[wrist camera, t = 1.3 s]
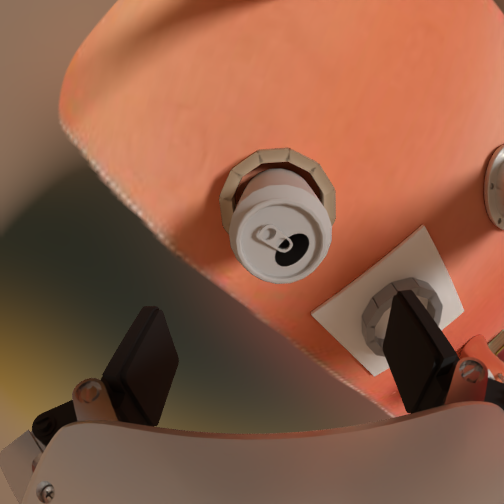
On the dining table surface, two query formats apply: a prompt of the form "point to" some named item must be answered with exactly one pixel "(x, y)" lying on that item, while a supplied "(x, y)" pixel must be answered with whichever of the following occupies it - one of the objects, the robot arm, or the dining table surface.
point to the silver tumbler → (484, 357)
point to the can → (280, 227)
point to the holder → (389, 298)
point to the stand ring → (269, 157)
